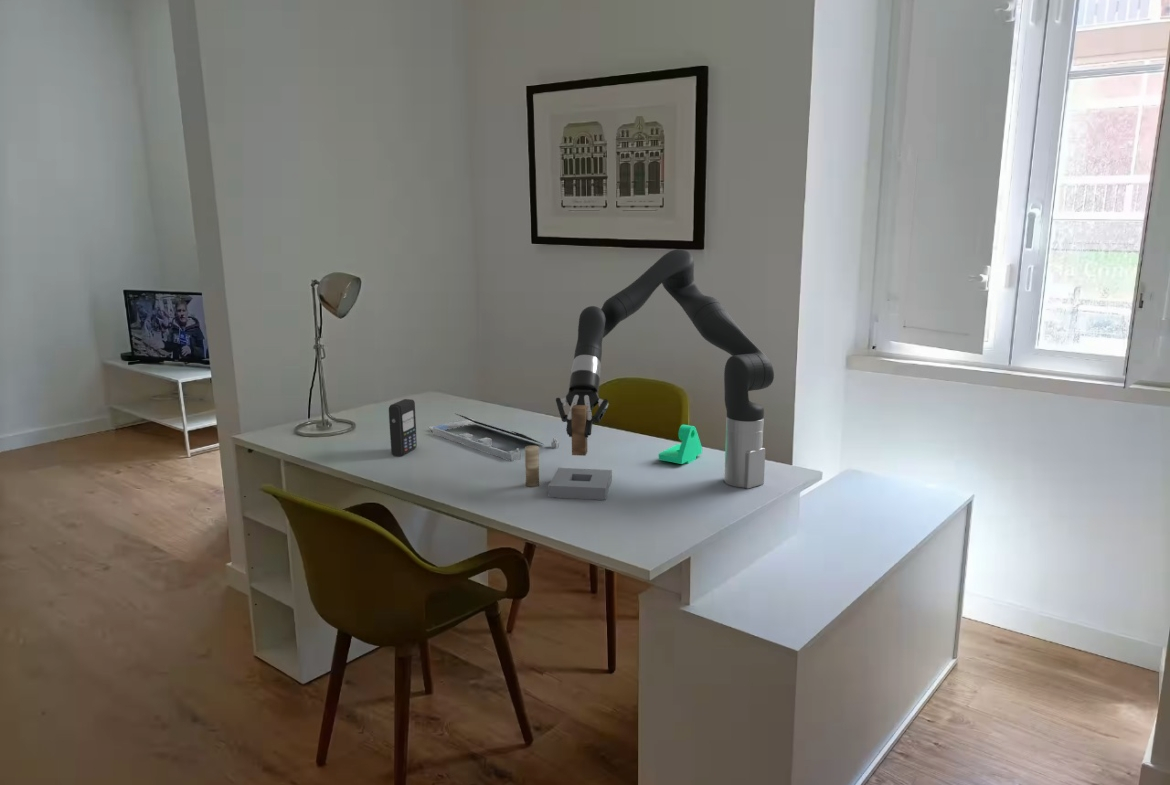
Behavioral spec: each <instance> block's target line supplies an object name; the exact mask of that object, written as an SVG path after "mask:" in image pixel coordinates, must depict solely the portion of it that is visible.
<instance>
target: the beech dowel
mask: <svg viewBox="0 0 1170 785" xmlns="http://www.w3.org/2000/svg"><path fill="white" fill-rule="evenodd" d="M539 448H540V447H539V446H538V445H534V444H533V445H531V444H530V445H527V446H525V447H524V456H525V457H524V459H525V460H524V461H525V486H526V487H527V486H528V487H529V488H537V487H539V486H540V460H539V457H540V451H539V450H540V449H539Z"/></svg>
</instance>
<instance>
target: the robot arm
mask: <svg viewBox="0 0 1170 785" xmlns="http://www.w3.org/2000/svg"><path fill="white" fill-rule="evenodd" d="M694 262H695V260H694V256H693V255H692V254H691V252H689V251H687V250H685V249H673V250H672V249H671V250H670V251H668V252H666V253H664V255H663V256H661V257H660V258H659V259H657V261H656V262H654V264H652V265H651V266H650V267H649V268H648V269H647V270H645V271H644V272H643V273H642V274H641V275H640V276H638V278H637V279H635V281H633V282H631V284H629V285H628V286H626V287H625V288H623V289H622V290H620V291H618V292H617V293H615V294H614V295H611V297H609V298H608V299H607V300H606V301H604V302H603V305H602V307H601V308H599V307H598V306H595V305H590V306H587V307H585V308H584V309H582V311H581V312H580V314H579V318H578V327H577V341H576V345H575V349H574V354H573V355H574V356H573V362H572V366H571V371H570V379H569V384H568V386H569V387H568V392H567V394H566V396H565V397H563V398H560V397H556V398H555V402H556V406H557V410H558V412H559V416H560V419H561V421H562V422H563V423H564V422H566V429H565V430H566V434H567V435H568V437H569V438H572V417H571V408H572V407H573V405H587V421H586V426H585V432H584V435H585V437H586V438H587V439H588V438H589V436H591V435H592V431H593V429H592V428H593V424H599V423H600V422H601V420H602V419H603V417H604V415H605V414H606V412H607V410H608V409H609V405H610V404H609V400H608V399H607V398H604V399H602V398H600V396H599V391H600V381H601V370H602V368H601V363H602V352H603V350H602V349H603V348H602V347H603V346H602V344H603V339H604V338H605V337H606V336H608V334H609V333H611V331H613V330H614V329H615V328H616V327H617V326H618V325H619V324H620V323H621V322H622V321H624V320H626V319H627V318H629V317H630V316H632V315H634V314H635V313H637V311H639V310H641V308H642V307H643V306H644V305H645V303H646V302H647V301H648V300H649V298H650V297H651V296H652V294H654V292H655V291H656V290H657V288H659V286H660V285H661V284H662V287H663V289H665V291H666V292H667V293H668V295H670V296H671V297H672V298H673V299H674V300H675V301H676V303H677V304H679V306H680V307H681V308H682V310H683V312H685V314H686V315H687V317H688V318H689V320H690V321H691V323H692V324H693V326H694V327H695V329H696V330H697V331H698V333H699V334H700V336H702V338H703V339H704V340H706V341H707V342H708V343H710V344H711V345H713V346H715V347H716V348H718V349H720V350H722V351H724V352H725V353H727V354H729V355H730V356H729V358H727V360H726V362H725V365H724V370H723V371H724V372H723V374H724V375H723V378H724V379H723V380H724V381H723V382H724V405H725V408H726V409H725V410H726V418H725V419H726V420H725V421H726V422H725V423H726V424H725V425H726V426H725V448H724V449H725V450H724V451H725V453H724V481H723V482H724V483H726V484H727V485H729V486H731V487H736V488H737V487H738V488H744V489H751V488H755V487H758V486H761V485H764V483H765V470H766V469H765V468H766V464H765V463H766V448H765V447H763V438H764V422H765V420H764V418H765V417H764V416H765V408H764V407H763V406H762V405H761V404H759V403H756V402H752V401H751V400H750V397H749V392H751V391H758V390H759V391H760V390H764V389H766V388H768V387H770V386H771V385H772V384H773V382H774V378H775V371H774V366H773V365H772V362H771V360H770V359H769V357H768V356H767V355H766V354H765V353H764V352H763V351H762V349H760V348H759V347H758V345H756V344H755V343H754V342H753V341H752V340H751V339H750V338H749V337H748V335H747V334H746V333H745V332H744V331H743V330H742V328H741V327H740V326H739V324H737V322H736V321H735V320H734V319H733V317H732V315H731V314H730V313H729V311H728V310H727V309H726V307H725V306H724V305H723V304H722V303H721V302H720V300H718V299H717V298H715V297H713V296H710V295H709V296H708V295H704V294H703V293H702V291H701V290H700V289H699V287H698V286H697V283H696V281H695V277H694V276H695V275H694V273H695V272H694V270H695V263H694ZM566 403H567V404H568V406H569V407H570V408H569V412H568V414H566V412H565V409H564V408H565V407H566ZM597 405H598V409H597V410H596V412H595V414H592V410H593V409H594V408H595V407H596V406H597Z"/></svg>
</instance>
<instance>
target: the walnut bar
mask: <svg viewBox="0 0 1170 785" xmlns="http://www.w3.org/2000/svg"><path fill="white" fill-rule="evenodd" d="M571 417H572V437H571V456H583V457H586V456H587V453H588V438H586V437H585V435H584V432H585V426H586V421H587V405H573V407H572V408H571Z"/></svg>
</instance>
